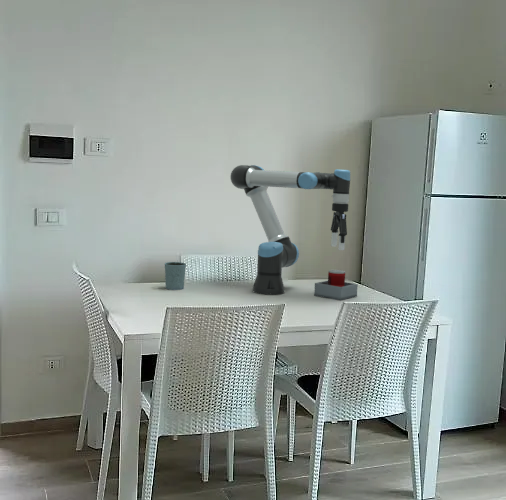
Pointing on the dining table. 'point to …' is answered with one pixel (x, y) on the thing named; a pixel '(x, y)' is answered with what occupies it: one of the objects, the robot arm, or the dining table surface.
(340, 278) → the canned food
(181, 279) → the blue-grey cup
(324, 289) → the bin
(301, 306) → the dining table surface
